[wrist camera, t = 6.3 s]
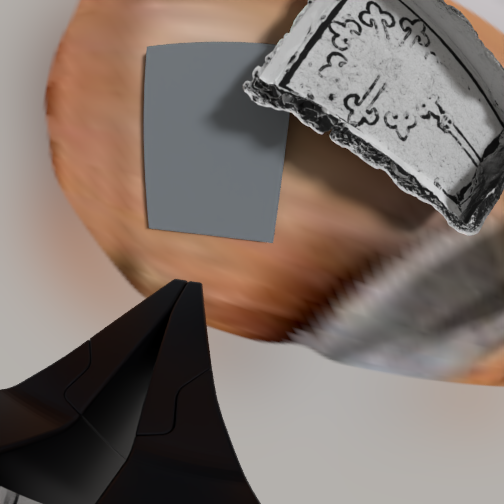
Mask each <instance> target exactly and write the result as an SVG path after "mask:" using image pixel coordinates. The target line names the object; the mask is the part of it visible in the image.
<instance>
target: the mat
mask: <svg viewBox="0 0 504 504" xmlns="http://www.w3.org/2000/svg"><path fill="white" fill-rule="evenodd" d="M275 47H276V45H274V44H262V43H246V42H195V43H178V44H166V45H157V46H149V47H147V53H146V67H145V86H144V162H145V183H146V198H147V211H148V222H149V228H151V229H160V230H169V231H177V232H186V233H195V234H203V235H211V236H220V237H228V238H236V239H245V240H253V241H261V242H269V243H273V239H274V232H275V225H276V218H277V210H278V203H279V195H280V188H281V180H282V172H283V164H284V157H285V149H286V140H287V132H288V124H289V115H290V112H287V111H284V110H275V109H273V108H271V107H264V106H261V105H258V104H257V103H255V102H254V101H252V100H251V98H250V96H249V95H248V94H247V93H246V92H244V90H243V84H244V83H245V81H250V82H251V81H252V80H253V76H252V73H253V71H254V69H255V68H256V67H257V66H260V67H262V66H263V65H264V63H265V57H266V56H267V55H268V54H270V53H271V52H272V51H273V50H274V48H275Z"/></svg>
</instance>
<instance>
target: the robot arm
mask: <svg viewBox="0 0 504 504" xmlns="http://www.w3.org/2000/svg"><path fill="white" fill-rule="evenodd" d="M0 504H261V503H260V502H259V500H258V499H257V497H256V495H255V493H254V492H253V490H252V488H251V486H250V485H249V483H248V481H247V479H246V477H245V475H244V472H243V470H242V468H241V465H240V463H239V461H238V458H237V456H236V453H235V451H234V448H233V445H232V442H231V440H230V437H229V434H228V431H227V429H226V426H225V423H224V420H223V417H222V414H221V411H220V407H219V404H218V401H217V396H216V391H215V386H214V379H213V373H212V366H211V359H210V351H209V343H208V335H207V326H206V317H205V308H204V298H203V288H202V284H201V283H199V282H192V281H190V282H187V281H185V280H179V279H174V280H172V281H171V282H169V283H168V284H167V285H165V286H164V287H162V288H161V289H159V290H158V291H156V292H155V293H154V294H152V295H151V296H149V297H148V298H146V299H145V300H144V301H142V302H141V303H139V304H138V305H136V306H135V307H134V308H132V309H131V310H130V311H128V312H127V313H125V314H124V315H122V316H121V317H120V318H118V319H117V320H115V321H114V322H112V323H111V324H110V325H108V326H107V327H105V328H104V329H103V330H101V331H100V332H99V333H97V334H96V335H94V336H93V337H92V338H90V340H87V341H86V342H85V343H83V344H82V345H81V346H79V347H78V348H76V349H75V350H73V351H72V352H70V353H69V354H68V355H66V356H65V357H63V358H61V359H60V360H58V361H57V362H55V363H53V364H52V365H50V366H48V367H47V368H45V369H44V370H42V371H40V372H38V373H37V374H35V375H33V376H31V377H30V378H28V379H26V380H25V381H23V382H21V383H19V384H18V385H16V386H13V387H11V388H7V389H2V390H0Z"/></svg>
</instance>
